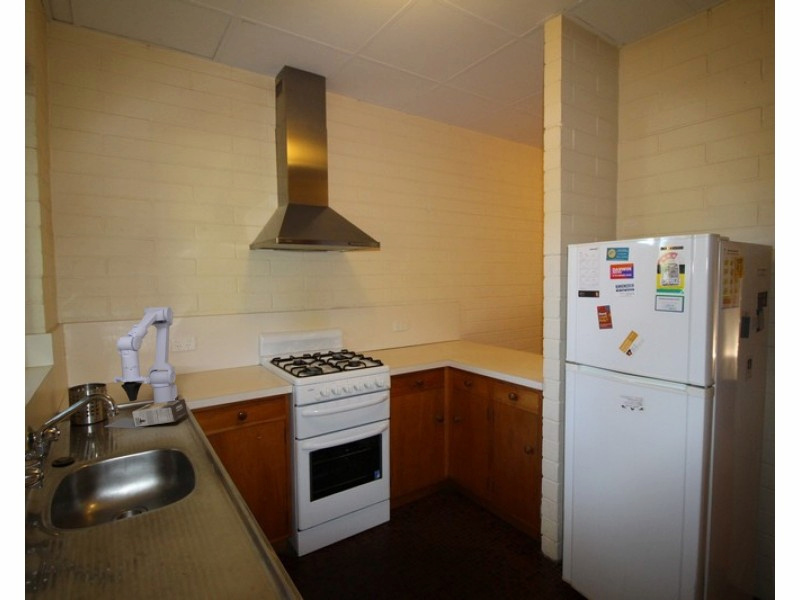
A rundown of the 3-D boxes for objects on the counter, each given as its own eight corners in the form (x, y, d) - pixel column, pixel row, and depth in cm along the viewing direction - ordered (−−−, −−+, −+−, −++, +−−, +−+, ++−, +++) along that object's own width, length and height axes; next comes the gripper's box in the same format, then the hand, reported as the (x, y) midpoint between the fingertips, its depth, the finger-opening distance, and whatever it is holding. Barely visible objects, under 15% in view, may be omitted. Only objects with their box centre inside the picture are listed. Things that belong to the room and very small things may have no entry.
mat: (123, 418, 169) (123, 417, 169) (158, 420, 166) (158, 419, 166) (104, 427, 160) (104, 426, 160) (140, 429, 157) (140, 428, 157)
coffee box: (146, 403, 166) (185, 398, 166) (150, 419, 167) (188, 413, 166) (131, 412, 157) (172, 406, 157) (135, 428, 158) (175, 422, 157)
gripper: (105, 368, 158) (108, 403, 159) (138, 369, 155) (141, 404, 157) (121, 364, 165) (123, 397, 166) (152, 365, 162) (155, 398, 163)
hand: (133, 400), depth 162 cm, fingers closed
